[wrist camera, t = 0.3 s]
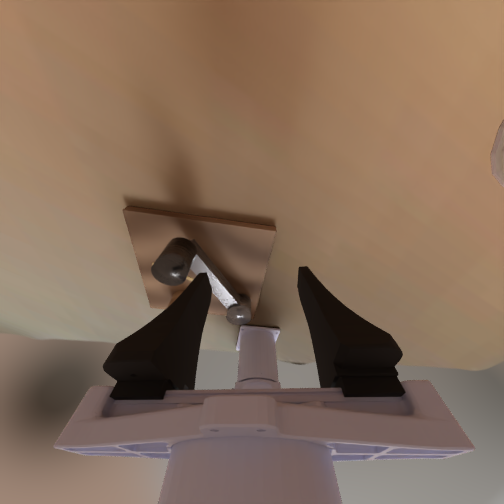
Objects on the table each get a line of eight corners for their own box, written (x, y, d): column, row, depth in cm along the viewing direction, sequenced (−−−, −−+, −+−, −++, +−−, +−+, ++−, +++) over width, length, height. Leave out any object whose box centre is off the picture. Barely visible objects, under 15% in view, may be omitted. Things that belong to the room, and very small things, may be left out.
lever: (255, 304, 29) (255, 343, 24) (235, 310, 30) (231, 349, 25) (192, 222, 21) (172, 254, 15) (168, 234, 22) (141, 268, 16)
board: (253, 312, 33) (253, 318, 32) (154, 302, 32) (150, 308, 31) (275, 226, 23) (276, 231, 22) (128, 205, 21) (121, 210, 20)
